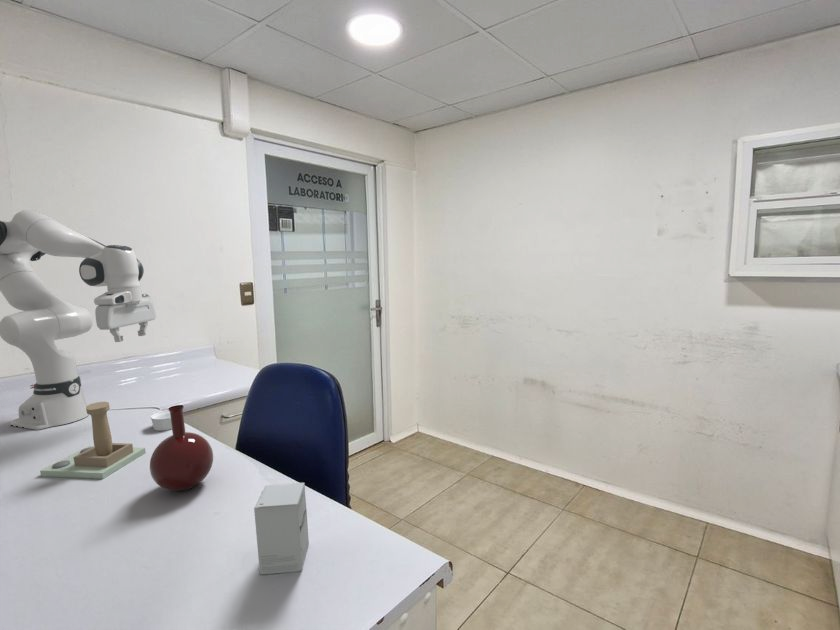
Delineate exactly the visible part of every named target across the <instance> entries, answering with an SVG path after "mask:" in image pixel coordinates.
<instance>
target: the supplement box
mask: <svg viewBox="0 0 840 630" xmlns="http://www.w3.org/2000/svg"><path fill="white" fill-rule="evenodd" d="M306 497H307V496H306V485H305V482H293V483H283V484H281V483H280V484H271V485H269V484H267V485H265V486H264V487H263V490H262V492H261V494H260V496H259V498H258V500H257V502H256V504H255V506H254V507H253V511H254V521H255V523H254V524H255V535H256V542H257V554H258V555H257V557H258V566H259V567H258V568H259V575H272V574H273V575H274V574H284V573H285V574H286V573H297V572H301V571H302V570H303V566H304V562H305V558H306V555H307V550H308V547H309V544H310V543H309V542H310V541H309V540H310V539H309V528H308V527H309V526H308V512H307V511H308V510H307V509H308V508H307V498H306Z"/></svg>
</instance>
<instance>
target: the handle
mask: <svg viewBox="0 0 840 630" xmlns="http://www.w3.org/2000/svg"><path fill="white" fill-rule="evenodd" d="M86 411H87V414H89V415H90V417H91V424H92V427H91V428H92V438H93V446H95V451H96V454H97V455H98V456H108V455H109V454H111V453H113V452H112V443H113V438H112V434H111V433H112V432H111V429H110V423H109V419H108V414H107V413H108V411H110V403H109V401H99V402H97V401H96V402H94V403H90V404H88V405H87V407H86Z"/></svg>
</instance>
